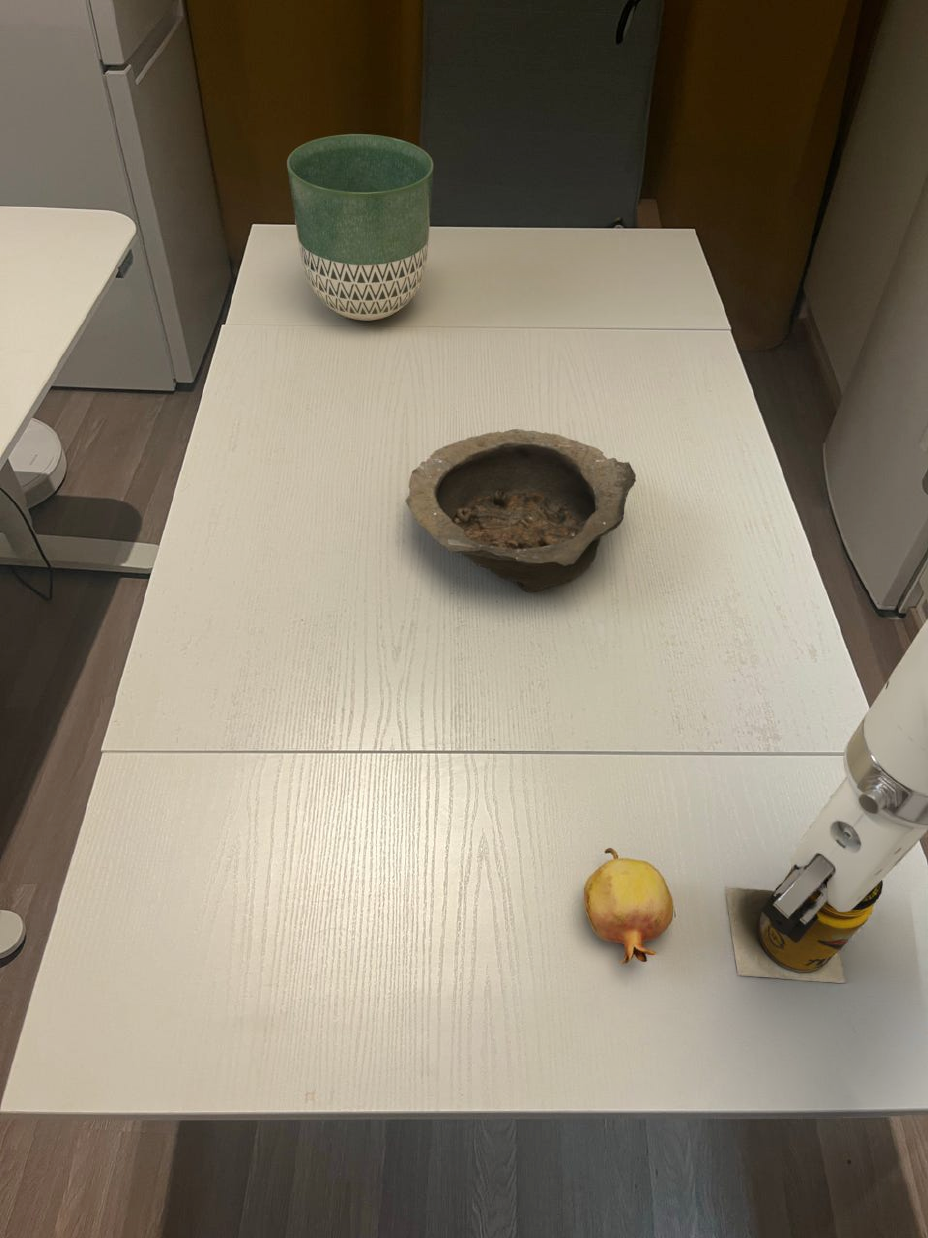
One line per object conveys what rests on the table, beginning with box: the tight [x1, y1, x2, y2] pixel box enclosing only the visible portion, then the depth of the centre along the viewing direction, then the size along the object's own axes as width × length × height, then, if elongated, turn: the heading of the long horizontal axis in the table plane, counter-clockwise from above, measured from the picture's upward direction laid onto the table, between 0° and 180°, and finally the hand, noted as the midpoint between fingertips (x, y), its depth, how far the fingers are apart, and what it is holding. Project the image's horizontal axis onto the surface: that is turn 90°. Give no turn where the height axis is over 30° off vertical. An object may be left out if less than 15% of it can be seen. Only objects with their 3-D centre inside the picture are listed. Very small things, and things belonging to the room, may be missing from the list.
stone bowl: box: [405, 428, 637, 592], centre depth 100 cm, size 25×25×9 cm
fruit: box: [583, 847, 674, 965], centre depth 70 cm, size 7×7×10 cm
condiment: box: [725, 862, 884, 984], centre depth 68 cm, size 7×8×12 cm
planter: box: [286, 133, 434, 322], centre depth 127 cm, size 20×20×21 cm
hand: (818, 888), depth 67 cm, fingers open, 8 cm apart
